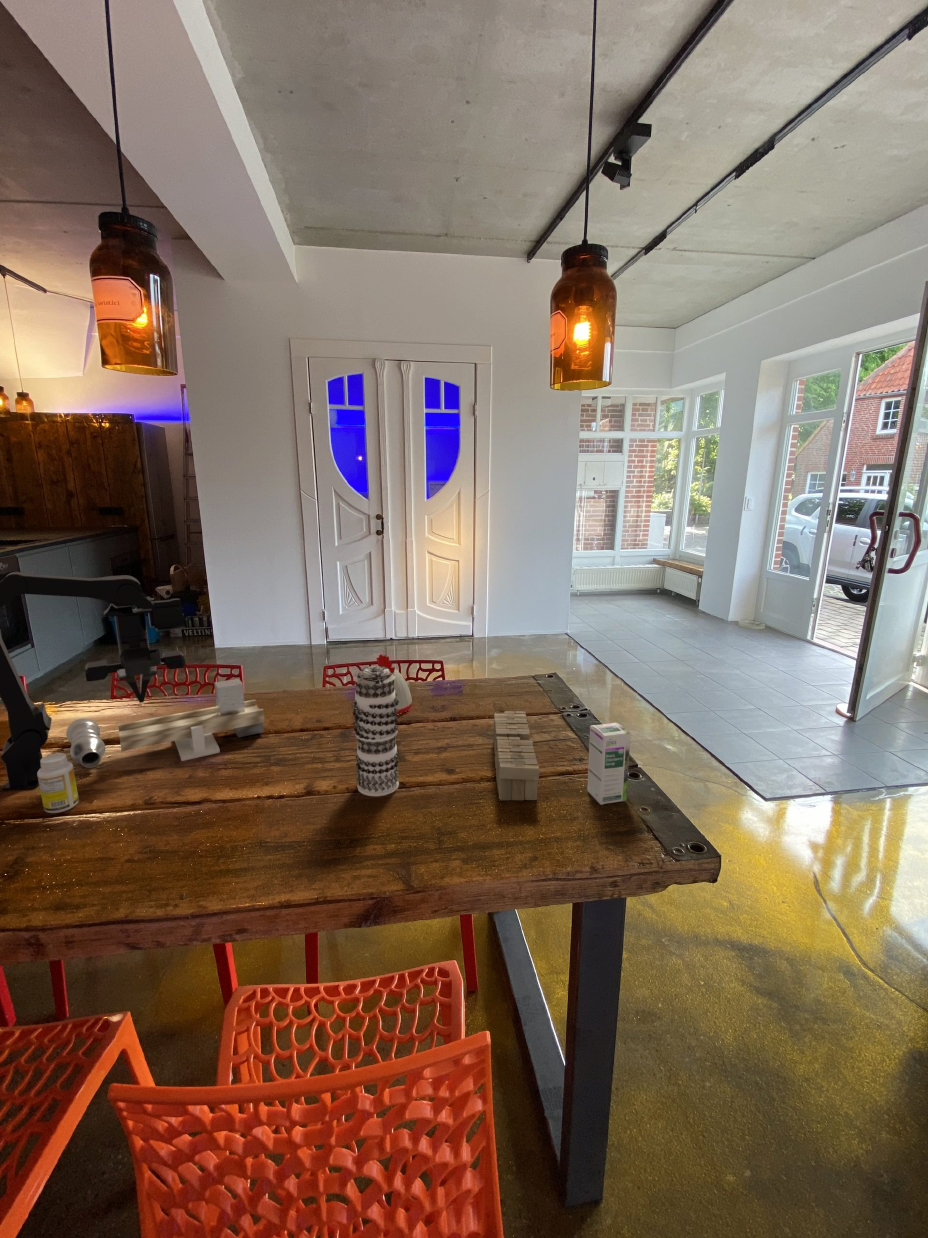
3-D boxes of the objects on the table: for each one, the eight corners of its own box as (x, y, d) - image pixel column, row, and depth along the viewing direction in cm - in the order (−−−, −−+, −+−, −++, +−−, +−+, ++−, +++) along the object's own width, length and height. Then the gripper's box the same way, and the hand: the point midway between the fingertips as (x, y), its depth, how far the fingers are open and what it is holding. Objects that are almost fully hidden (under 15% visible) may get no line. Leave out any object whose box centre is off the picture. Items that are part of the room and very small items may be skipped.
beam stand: (181, 761, 126) (178, 733, 125) (173, 738, 138) (170, 713, 136) (219, 752, 131) (217, 725, 129) (209, 731, 142) (206, 706, 141)
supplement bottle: (67, 796, 112) (59, 748, 110) (85, 802, 110) (77, 754, 107) (37, 810, 107) (28, 760, 105) (55, 817, 105) (46, 767, 102)
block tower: (493, 743, 138) (497, 805, 110) (493, 710, 137) (498, 764, 108) (525, 744, 138) (538, 805, 110) (526, 711, 137) (539, 764, 108)
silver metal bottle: (87, 746, 137) (97, 778, 122) (58, 734, 133) (64, 767, 118) (104, 722, 139) (116, 752, 123) (76, 711, 134) (85, 740, 119)
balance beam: (123, 764, 123) (119, 737, 121) (121, 749, 130) (117, 724, 128) (265, 733, 139) (263, 710, 137) (256, 722, 145) (255, 699, 144)
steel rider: (220, 720, 134) (217, 687, 132) (217, 713, 138) (214, 682, 136) (245, 715, 137) (242, 683, 135) (241, 709, 141) (238, 678, 139)
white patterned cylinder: (407, 777, 120) (405, 664, 114) (390, 800, 111) (387, 679, 105) (367, 772, 122) (363, 660, 116) (347, 793, 113) (342, 674, 108)
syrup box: (600, 806, 109) (604, 736, 106) (586, 790, 115) (589, 723, 112) (626, 801, 111) (631, 732, 108) (611, 786, 116) (615, 720, 113)
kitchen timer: (394, 695, 168) (393, 646, 164) (421, 708, 157) (421, 657, 154) (352, 706, 159) (350, 654, 156) (378, 721, 149) (376, 666, 145)
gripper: (80, 649, 111) (91, 723, 115) (185, 636, 121) (192, 705, 124) (81, 637, 120) (91, 706, 124) (178, 625, 130) (185, 690, 134)
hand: (141, 702), depth 126 cm, fingers closed
